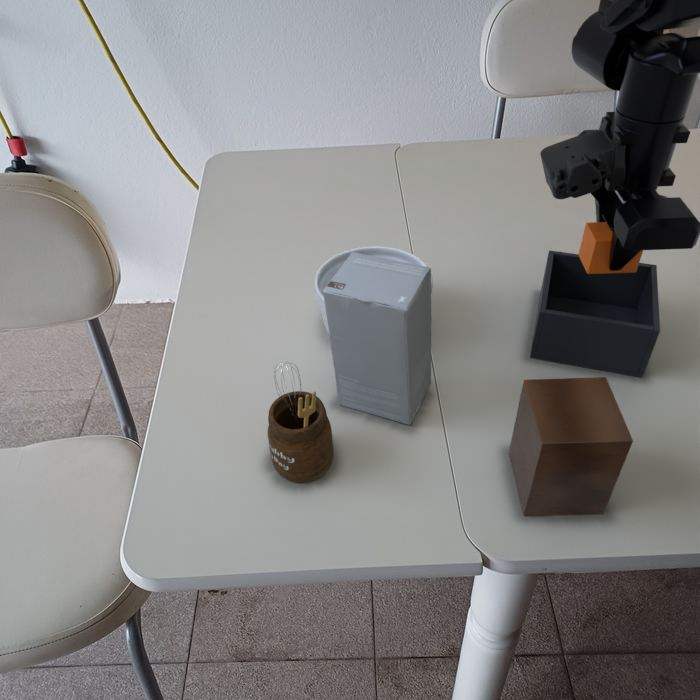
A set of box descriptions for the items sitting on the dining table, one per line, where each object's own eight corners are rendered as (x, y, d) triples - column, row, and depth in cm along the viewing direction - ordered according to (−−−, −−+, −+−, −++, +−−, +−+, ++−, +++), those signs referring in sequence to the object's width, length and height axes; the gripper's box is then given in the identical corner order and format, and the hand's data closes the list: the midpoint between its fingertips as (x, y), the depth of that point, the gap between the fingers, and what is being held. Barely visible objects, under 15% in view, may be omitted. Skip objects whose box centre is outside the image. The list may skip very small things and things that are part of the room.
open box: (640, 310, 77) (656, 264, 72) (642, 377, 68) (660, 330, 64) (539, 295, 79) (549, 250, 75) (529, 358, 71) (539, 311, 67)
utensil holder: (317, 427, 65) (307, 338, 57) (346, 471, 61) (340, 382, 53) (263, 450, 63) (245, 361, 55) (289, 497, 59) (273, 409, 51)
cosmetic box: (431, 386, 69) (440, 263, 58) (407, 433, 64) (411, 309, 53) (359, 364, 72) (354, 243, 61) (330, 409, 67) (320, 286, 56)
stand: (581, 450, 62) (606, 376, 55) (603, 514, 57) (633, 440, 50) (508, 453, 62) (523, 379, 55) (523, 516, 57) (542, 443, 50)
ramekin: (294, 331, 76) (289, 283, 71) (366, 278, 83) (365, 232, 79) (382, 381, 69) (382, 332, 65) (452, 319, 77) (456, 271, 72)
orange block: (625, 253, 69) (635, 220, 66) (636, 272, 66) (647, 239, 63) (577, 255, 69) (585, 222, 66) (587, 274, 66) (595, 241, 63)
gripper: (534, 75, 63) (513, 215, 74) (587, 163, 50) (552, 319, 60) (648, 71, 63) (610, 211, 74) (733, 157, 49) (672, 315, 60)
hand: (608, 258), depth 67 cm, fingers closed on orange block, 3 cm apart
